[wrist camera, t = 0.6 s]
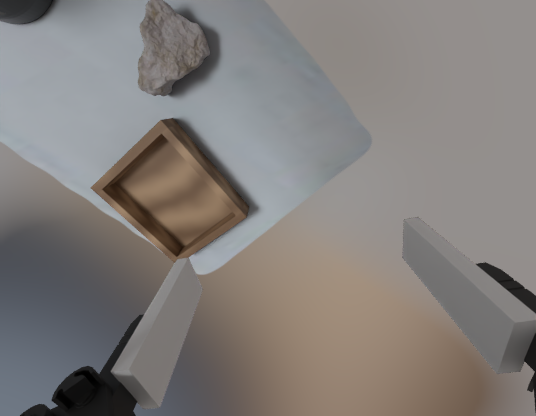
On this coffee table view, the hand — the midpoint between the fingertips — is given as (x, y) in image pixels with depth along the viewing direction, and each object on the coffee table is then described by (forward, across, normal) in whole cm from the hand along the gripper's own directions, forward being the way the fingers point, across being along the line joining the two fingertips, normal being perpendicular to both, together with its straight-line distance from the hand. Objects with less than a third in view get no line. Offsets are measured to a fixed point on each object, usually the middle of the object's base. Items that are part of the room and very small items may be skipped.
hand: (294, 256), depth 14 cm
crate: (+24, -18, -2) cm, 30 cm away
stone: (+25, -11, +16) cm, 32 cm away
